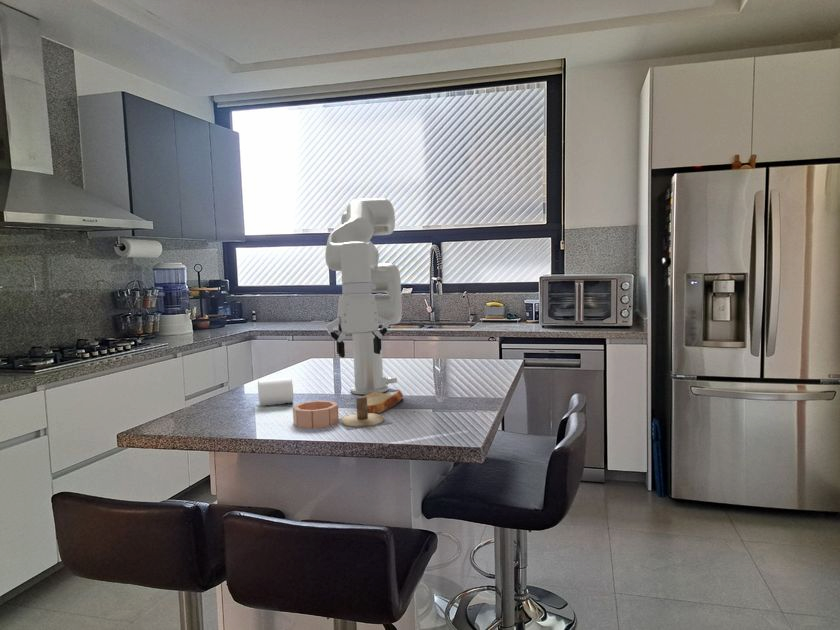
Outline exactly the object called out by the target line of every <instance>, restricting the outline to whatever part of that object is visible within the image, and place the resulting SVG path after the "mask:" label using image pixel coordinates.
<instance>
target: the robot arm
mask: <svg viewBox="0 0 840 630" xmlns="http://www.w3.org/2000/svg"><path fill="white" fill-rule="evenodd" d="M395 215H396V214H395V208H394V206H393V204H392V202H391V201H390V200H389V199H387V198H384V197H382V198H380V197H378V198H377V197H376V198H375V197H374V198H373V197H372V198H357V199H356V198H355V199H353V200H352V201H351V202H349V203H348V205H347V207H346V210H345V212H343V214H342V215H341V218H340V219H341V220H340V223H341V225H340V226H339V227H338V228H336V229H334V230H333V231H332V232H331V233H330V234H329V235H328V237H327V240H326V241H327V242H326V248H325V255H324V256H325V257H324V258H325V263H326V266H327V268H328V269H329V270H331V271H334V272H341V288H342V290H341V291H342V292H341V293H342V295H339V297H338V304H337V316H336V317H337V318H336V319H334V320H333V321H330V322H329V323H327V324H325V329H326V331H327V333H328V335H329V336H330V337H331V338H332V339H333V340H334V341H336V354H337V355H338V357H340V358H345V356H346V354H345V353H346V352H345V351H346V350H345V349H346V348H345V342H344V341H343V340H344V339H345V337H346V336H347V335H352V350H353V353H352V354H353V369H354V370H353V373H354V377H353V378H354V385H353V386H351V387H350V389H349V391H350V393H351V394H355V395H362V396H365V395H367V394H370V393H372V392H374V391H377V392H381V393H386V392H387V391H389V386H388V385H389V384H397V383H398V378H397V376H394V377H391V376H389V377H386V376H384V373H383V371H384V370H383V366H384V365H383V345H382V343H383V342H382V341H383V340H382V339H383V338H384V337H383V336H385V334H386V333H387V332H388V329H389V327H390V325H396V324H399V323H400V322H401V320H402V317H403V305H402V304H403V303H402V302H403V301H402V284H401V283H402V282H401V273H400V270H399V267H398V266H397V265H396V264H394V263H379V261H380V255H379V254H380V253H379V250H378V248H377V247H376V246H375V244H373V242H372V241H371V239H372V237H373V236H389V235H391V234H393V233H394V230H395V226H396V217H395ZM374 293H386V294H387V295H380V296H379V295H378V296H377V295H375V294H374ZM379 326H381V328H380V329H379ZM335 327H337V331H338V333H336V332H335V331H334V328H335Z"/></svg>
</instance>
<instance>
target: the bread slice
mask: <svg viewBox="0 0 840 630" xmlns="http://www.w3.org/2000/svg"><path fill="white" fill-rule="evenodd" d="M364 396H365V397H367V409H368V413H374V414H381V413H384V412H385V411H388V410H390V409H391V408H393V407H394V406H396V405H397V404H399V402H401V401H402V398H403V396H404V394H403V392H402V391H401V390H400V389H398V390H397V392H394V393H392V394H391V393H390V394H388V393H385V392H383V393H381V392H377V391H374V392H372V393H370V394H367V395H364Z"/></svg>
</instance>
